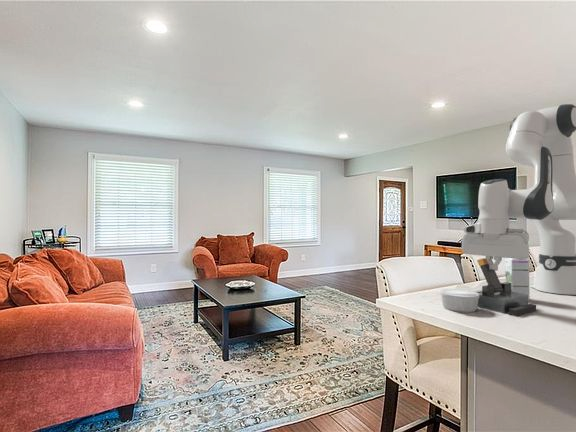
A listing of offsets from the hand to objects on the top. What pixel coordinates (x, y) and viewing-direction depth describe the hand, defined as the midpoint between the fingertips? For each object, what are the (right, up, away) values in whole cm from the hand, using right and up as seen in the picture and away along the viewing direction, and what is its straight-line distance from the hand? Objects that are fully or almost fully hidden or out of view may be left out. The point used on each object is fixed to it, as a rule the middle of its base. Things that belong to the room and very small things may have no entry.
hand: (493, 270), depth 115 cm
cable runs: (-1, -11, -1) cm, 12 cm away
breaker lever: (0, -6, -1) cm, 6 cm away
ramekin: (-13, -12, -5) cm, 18 cm away
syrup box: (+14, -12, +9) cm, 20 cm away
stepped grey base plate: (0, -11, -1) cm, 11 cm away
